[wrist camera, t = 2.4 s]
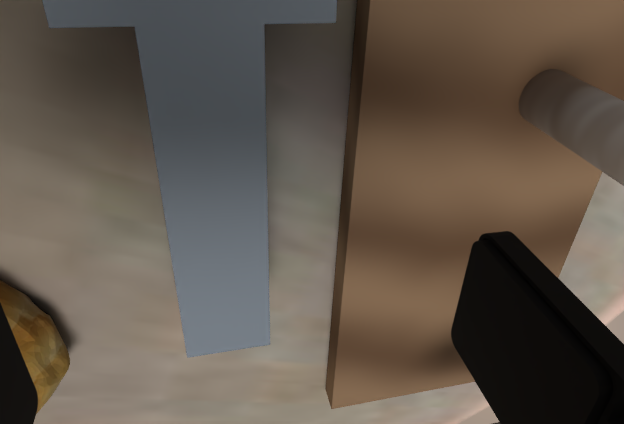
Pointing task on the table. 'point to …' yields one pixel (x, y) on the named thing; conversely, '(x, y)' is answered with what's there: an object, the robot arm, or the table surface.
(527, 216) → the board
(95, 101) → the table surface
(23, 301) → the pastry
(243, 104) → the link
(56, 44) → the table surface
